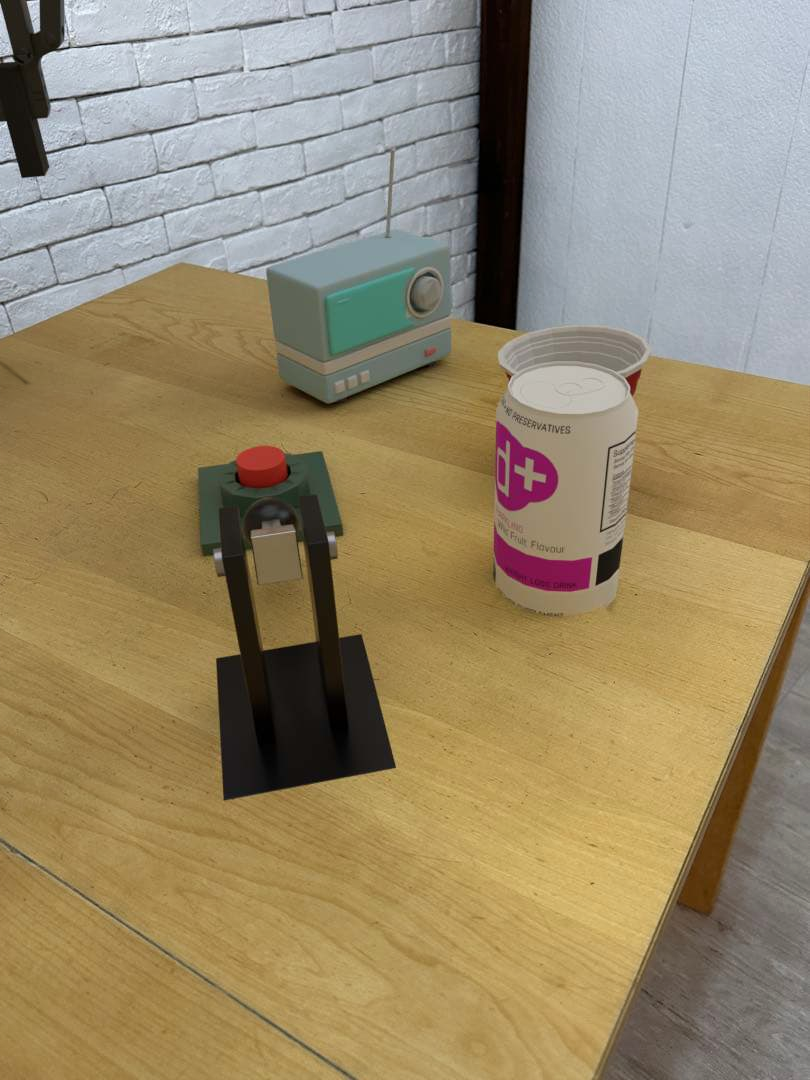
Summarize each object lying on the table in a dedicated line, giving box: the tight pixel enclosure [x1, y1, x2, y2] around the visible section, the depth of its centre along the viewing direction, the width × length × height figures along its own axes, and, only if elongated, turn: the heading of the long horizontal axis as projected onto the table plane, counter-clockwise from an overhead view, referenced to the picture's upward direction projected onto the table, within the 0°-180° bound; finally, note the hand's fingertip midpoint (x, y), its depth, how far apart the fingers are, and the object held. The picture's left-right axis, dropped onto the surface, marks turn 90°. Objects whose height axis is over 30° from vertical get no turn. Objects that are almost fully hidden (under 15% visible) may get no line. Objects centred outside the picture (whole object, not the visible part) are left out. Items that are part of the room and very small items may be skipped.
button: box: [235, 445, 288, 489], centre depth 67 cm, size 4×4×2 cm
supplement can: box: [492, 362, 640, 617], centre depth 57 cm, size 8×8×15 cm
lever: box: [242, 497, 304, 586], centre depth 51 cm, size 16×4×4 cm, turn 12°
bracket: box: [212, 494, 397, 802], centre depth 48 cm, size 11×9×14 cm
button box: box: [197, 450, 344, 557], centre depth 68 cm, size 11×10×4 cm
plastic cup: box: [497, 324, 653, 398], centre depth 68 cm, size 11×11×12 cm
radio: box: [265, 146, 452, 405], centre depth 84 cm, size 16×9×20 cm, turn 131°
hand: (35, 172), depth 61 cm, fingers closed
